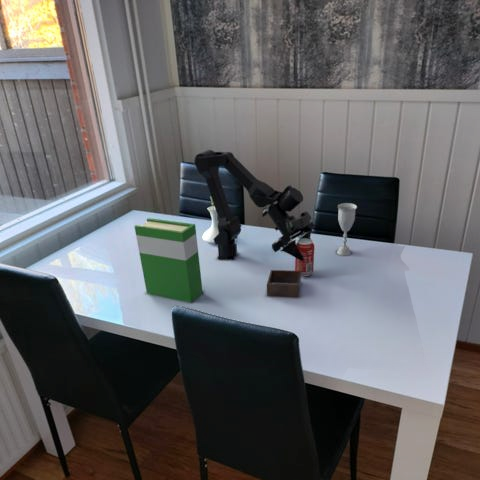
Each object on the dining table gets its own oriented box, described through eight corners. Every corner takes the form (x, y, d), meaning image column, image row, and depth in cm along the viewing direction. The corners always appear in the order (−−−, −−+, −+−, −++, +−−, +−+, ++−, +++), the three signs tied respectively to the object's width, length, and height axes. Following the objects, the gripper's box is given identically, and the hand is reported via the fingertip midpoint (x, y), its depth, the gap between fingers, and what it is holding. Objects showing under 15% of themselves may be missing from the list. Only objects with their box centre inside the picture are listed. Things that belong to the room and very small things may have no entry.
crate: (267, 296, 152) (266, 283, 150) (271, 281, 161) (270, 269, 158) (298, 297, 150) (298, 285, 148) (300, 282, 159) (301, 270, 156)
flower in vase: (229, 245, 189) (225, 183, 176) (201, 246, 190) (195, 185, 176) (230, 233, 200) (226, 174, 187) (204, 234, 201) (198, 175, 187)
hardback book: (146, 293, 158) (134, 226, 145) (159, 283, 164) (148, 218, 151) (191, 302, 151) (182, 232, 138) (202, 292, 157) (195, 224, 144)
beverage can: (310, 268, 166) (311, 236, 160) (315, 276, 161) (317, 243, 154) (293, 270, 165) (293, 238, 159) (297, 278, 160) (298, 245, 154)
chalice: (332, 249, 180) (335, 203, 170) (350, 248, 180) (353, 202, 171) (337, 257, 174) (340, 210, 164) (355, 255, 174) (359, 208, 164)
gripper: (279, 214, 147) (307, 255, 147) (311, 198, 159) (338, 236, 158) (259, 232, 156) (286, 271, 155) (292, 216, 167) (317, 251, 167)
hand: (308, 256), depth 159 cm, fingers closed on beverage can, 6 cm apart
